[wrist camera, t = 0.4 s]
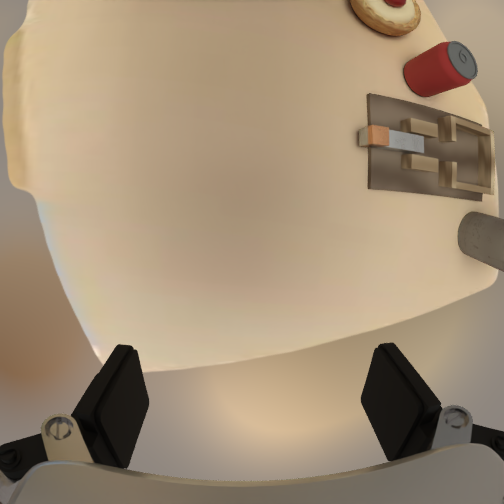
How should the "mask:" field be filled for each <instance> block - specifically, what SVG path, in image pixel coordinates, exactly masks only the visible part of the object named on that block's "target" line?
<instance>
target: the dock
mask: <svg viewBox="0 0 504 504" xmlns="http://www.w3.org/2000/svg"><path fill="white" fill-rule="evenodd" d="M367 109H368V126H370V125H377V126H383V127H389V130H394V131H399V132H405V133H410V134H415V135H419V136H424V153H419V154H411V153H405V152H398V151H392V150H385V149H377V148H369V147H368V189H378V190H390V191H401V192H411V193H421V194H430V195H438V196H446V197H454V198H461V199H468V200H475V201H481V202H482V194H483V193H484V194H490V195H494V181H495V150H494V131H492V130H490V129H487V128H484V127H482V125H481V124H478V123H476V122H473V121H470V120H468V119H465V118H462V117H459V116H456V115H453V114H450V113H447V112H444V111H441V110H437V109H434V108H430V107H427V106H423V105H420V104H416V103H412V102H408V101H404V100H399V99H395V98H391V97H386V96H381V95H376V94H371V93H369V94H367Z"/></svg>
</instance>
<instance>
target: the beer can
mask: <svg viewBox="0 0 504 504" xmlns="http://www.w3.org/2000/svg"><path fill="white" fill-rule="evenodd" d="M477 72H478V70H477V64H476V61H475V59H474V57H473V55H472V53H471V52H470V51H469V50H468V48H467V47H465V46H464V45H463V44H461V43H460V42H457V41H452V42H443V43H440V44H438V45H436V46H434V47H433V48H431V49H429V50H427V51H425V52H424V53H422V54H420V55H418V56H417V57H415V58H413V59H412V60H410V61H409V62H407V63H406V65H405V67H404V75H405V79H406V81H407V83H408V85H409V86H410V88H411V89H412V90H413V91H414V92H415V93H417V94H419V95H421V96H423V97H429V96H433V95H436V94H439V93H442V92H445V91H448V90H451V89H454V88H457V87H461V86H464V85H467V84H468V83H469V82H470V81H471V80H472V79H474V78H475V77H476V76H477Z"/></svg>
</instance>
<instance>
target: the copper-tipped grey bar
mask: <svg viewBox="0 0 504 504" xmlns="http://www.w3.org/2000/svg"><path fill="white" fill-rule="evenodd" d="M359 146H361V147H369V148H377V149H385V150H392V151H398V152H405V153H411V154H419V153H424V136H419V135H415V134H410V133H405V132H399V131H394V130H389V127H383V126H377V125H370V126H367V127H364V128H362V129H359Z"/></svg>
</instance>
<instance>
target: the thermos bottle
mask: <svg viewBox="0 0 504 504" xmlns="http://www.w3.org/2000/svg"><path fill="white" fill-rule="evenodd" d="M458 243H459V247H460V249H461V251H462V252H463V253H464V254H466V255H468V256H470V257H473V258H475V259H477V260H479V261H481V262H483V263H486V264H488V265H490V266H492V267H494V268H496V269H499V270H501V271H504V220H503V219H500V218H497V217H494V216H490V215H486V214H482V213H478V212H470V213H468V214H467V215H466V216H465V217H464V218H463V220H462V222H461V224H460V227H459V231H458Z"/></svg>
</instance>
